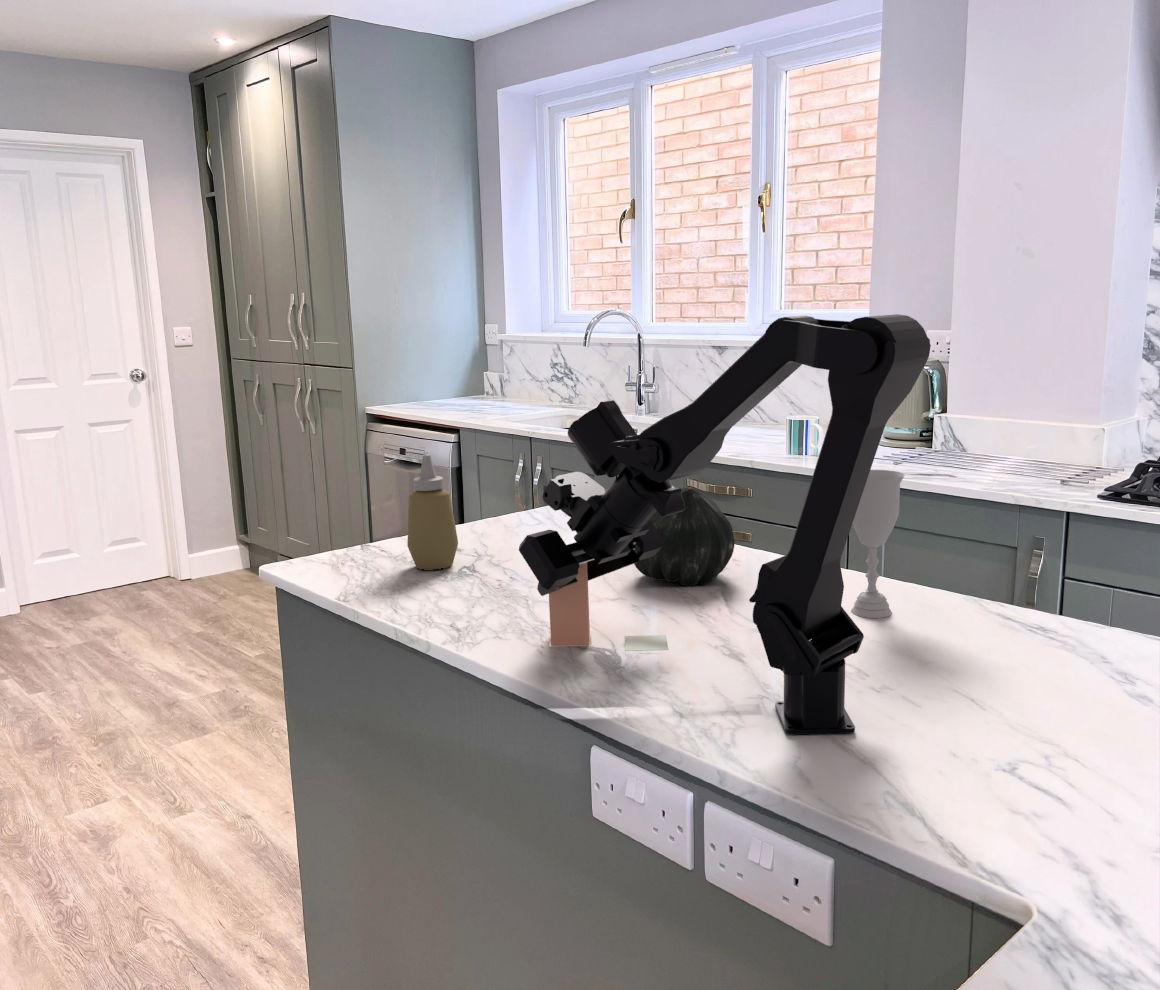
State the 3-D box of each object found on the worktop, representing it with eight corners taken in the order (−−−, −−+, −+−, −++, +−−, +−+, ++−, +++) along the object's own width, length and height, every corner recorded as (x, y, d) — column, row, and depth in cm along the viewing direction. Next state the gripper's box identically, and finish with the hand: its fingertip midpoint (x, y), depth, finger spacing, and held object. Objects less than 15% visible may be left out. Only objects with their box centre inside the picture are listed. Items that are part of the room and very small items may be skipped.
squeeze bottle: (403, 564, 155) (394, 454, 152) (451, 557, 159) (443, 449, 155) (416, 576, 148) (408, 461, 145) (466, 568, 151) (459, 456, 148)
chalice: (860, 623, 119) (863, 481, 116) (832, 607, 126) (834, 472, 122) (911, 616, 121) (916, 476, 118) (881, 600, 128) (885, 468, 124)
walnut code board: (669, 659, 110) (668, 652, 110) (547, 662, 110) (547, 655, 110) (665, 635, 118) (665, 629, 118) (551, 638, 118) (551, 631, 118)
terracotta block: (589, 644, 113) (585, 563, 111) (551, 645, 113) (547, 564, 111) (589, 631, 118) (586, 553, 116) (553, 632, 118) (549, 554, 116)
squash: (646, 526, 151) (633, 467, 140) (741, 532, 147) (736, 473, 136) (630, 604, 143) (616, 548, 132) (731, 612, 139) (724, 556, 128)
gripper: (641, 441, 115) (579, 519, 125) (525, 464, 102) (467, 548, 112) (694, 514, 111) (626, 588, 121) (581, 546, 98) (515, 627, 108)
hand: (560, 585), depth 115 cm, fingers closed on terracotta block, 6 cm apart
